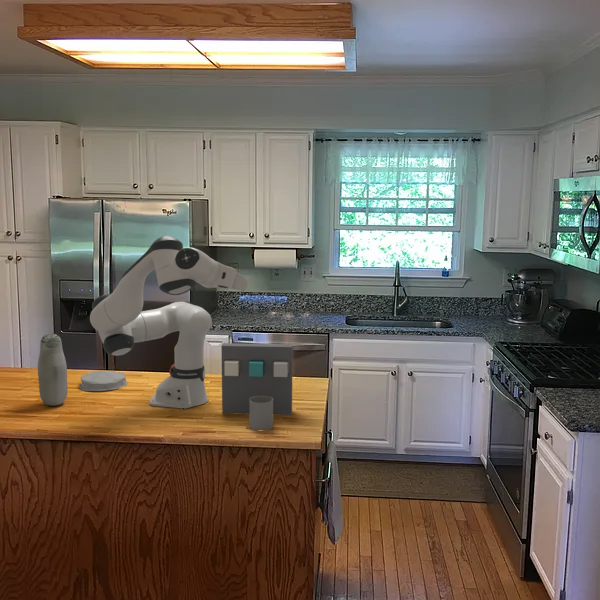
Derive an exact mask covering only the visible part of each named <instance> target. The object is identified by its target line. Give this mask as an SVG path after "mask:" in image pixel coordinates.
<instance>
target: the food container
mask: <svg viewBox="0 0 600 600" xmlns="http://www.w3.org/2000/svg"><path fill="white" fill-rule="evenodd" d="M126 378H127V377H126V374H125V373H124V372H121V371H116V370H96V371H90V372H87V373H85V374H82V375H81V376H80V380H81V383H80V384H78V387H79V389H80V390H81V391H85V392H88V391H89V392H91V391H94V392H104V391H110V390H119V389H120V388H124V387H126V386H127V385H128V381H127V379H126Z"/></svg>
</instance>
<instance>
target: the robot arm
mask: <svg viewBox="0 0 600 600" xmlns="http://www.w3.org/2000/svg"><path fill="white" fill-rule="evenodd" d="M154 270H155V276H156V281H157V285H158V288H159V290H160V291H161V292H163V293H165V294H168V295H171V296H180V295H183V294H186V293H188V292H189V291H191V290H192V289H193V288H194V287H195V286H196V285H197V284H199V285H201V286H202V287H204V288H206V289H213V288H216V289H217V288H221V289H222V288H224V289H230V290H237V291H241V292H245V291H246V290H247V288H248V283H249V280H248V279H247V278H246V277H245V276H243V275H242V274H241V273H239V272H238V270H237V269H236V268H234V267H231V266H228V265H225V264H222V263H221V262H218V261H216V260H214V259H213V258H211V257H210V256H209V255H208V254H206V253H205V252H203V251H202V250H200V249H198V248H195V247H189V246H188V247H187V246H186V247H184V244H183V242H182V241H181V240H179V239H178V238H175V236H171V235H163V236H161V237H159V238H157V239H155V240H154V241H153V242H152V244H151V245H150V246H149V247H148V249H147V250H146V252H144V254H143V255H142V256H141V257H139V259H137V260H136V261H135V262H134V263H133V264H132V265H131V266H130V267H129V268H127V270H126V271H125V272H124V273H123V274H122V276H121V278H120V280H119V283H118V284H117V286H116V287H115V289H114V290H113V292H111V293H107V294H106V293H105V294H103V295H100V296H98V297H96V298H95V299H94V300H93V301H92V305H91V308H92V311H90V313H89V314H90V315H89V322H90V324H91V326H92V328H93V329H94V330H96V331H97V333H98V336H99V337H100V340H101V343H102V347H103V349H104V352H106V354H107V355H110V356H113V357H115V356H116V357H117V356H124V355H125V354H128V353H129V352H131V351H132V350H133V348H134V347H135V343H143V342H146V341H152V340H157V339H162V338H164V337H165V336H167V335H169V334H171V333H175V332H179V335H178V341H177V343H176V345H175V346H174V353H173V354H174V363H173V364H172V365H171V366H170V368H169V371H168V372H169V376H167V377H166V378H165V379H164V380H163V381H161V382H160V383H159V384H158V385H157V387H156V390H155V394H153V395H152V397H150V400H149V405H150V406H153V407H155V406H156V407H164V408H173V409H183V408H184V409H189V408H192V407H197V406H201V405H203V404H206V403H207V402H208V401H209V397H208V395H207V391H206V384H205V380H206V369H205V365H204V345H205V341H206V336H207V333H208V332H209V331H210V329H211V327H212V324H213V320H212V317H211V314H210V313H209V312H208V311H207V310H205V309H204V308H203V307H201V306H199V305H196V304H195V305H194V304H193V303H189V302H186V301H175V302H172V303H170V304H167V305H165V306H162V307H158V308H154V309H149V310H148V309H147V310H143V307H144V287H145V283H146V282H145V281H146V278H147V277H148V276H149V274H151V272H153V271H154ZM184 409H183V410H184Z"/></svg>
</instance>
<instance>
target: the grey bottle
mask: <svg viewBox="0 0 600 600" xmlns="http://www.w3.org/2000/svg"><path fill="white" fill-rule="evenodd" d="M39 345H40V346H39V355H38V361H37V376H38V389H39V391H38V392H39V396H40V398H41V401H42V403H44V404H45V405H47V406H51V407H52V406H53V407H57V406H60V405H62V404H63V403H64V402H65V401H66V399H67V396H68V388H69V387H68V367H67V362H66V361H67V360H66V357H65V354H64V350H63V344H62V339H61V337H60V336H59V335H58V334H56V333H48V334H47V333H46V334H44V335H43V336H42V337H41V339H40V344H39Z"/></svg>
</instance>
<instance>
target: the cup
mask: <svg viewBox="0 0 600 600" xmlns="http://www.w3.org/2000/svg"><path fill="white" fill-rule="evenodd" d="M272 427H273V428H274V414H273V398H272V397H269V396H254V397H251V398H250V414H249V429H251V430H253V429H254V431H257V430H264V431H268V429H269V430H271V429H273V428H272Z"/></svg>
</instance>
